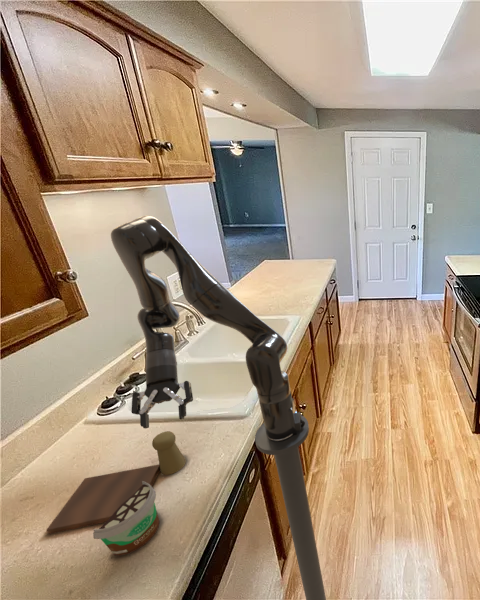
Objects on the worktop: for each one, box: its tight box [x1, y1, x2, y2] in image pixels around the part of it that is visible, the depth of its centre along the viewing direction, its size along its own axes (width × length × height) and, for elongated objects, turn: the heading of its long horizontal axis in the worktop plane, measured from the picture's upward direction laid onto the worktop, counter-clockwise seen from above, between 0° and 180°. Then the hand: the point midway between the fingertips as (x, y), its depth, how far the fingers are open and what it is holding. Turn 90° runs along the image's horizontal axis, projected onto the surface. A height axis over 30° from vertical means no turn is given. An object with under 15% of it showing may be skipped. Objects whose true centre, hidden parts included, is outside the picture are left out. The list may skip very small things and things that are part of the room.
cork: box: [151, 430, 187, 476], centre depth 91 cm, size 6×6×11 cm
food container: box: [92, 481, 160, 557], centre depth 73 cm, size 12×6×10 cm, turn 170°
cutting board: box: [46, 464, 161, 535], centre depth 84 cm, size 18×14×2 cm
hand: (164, 423), depth 92 cm, fingers open, 8 cm apart
